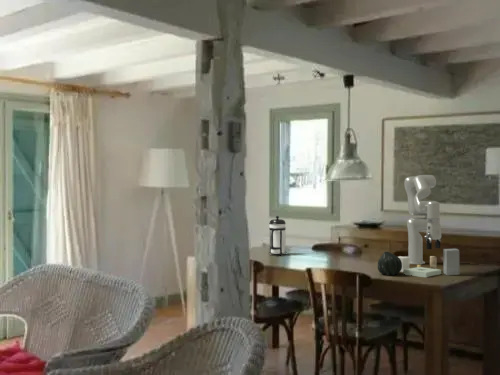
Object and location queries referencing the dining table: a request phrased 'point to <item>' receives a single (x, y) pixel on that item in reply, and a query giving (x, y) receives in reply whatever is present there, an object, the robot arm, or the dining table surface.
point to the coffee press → (277, 236)
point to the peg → (433, 262)
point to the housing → (405, 263)
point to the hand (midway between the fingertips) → (433, 248)
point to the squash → (389, 264)
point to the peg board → (422, 272)
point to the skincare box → (451, 261)
